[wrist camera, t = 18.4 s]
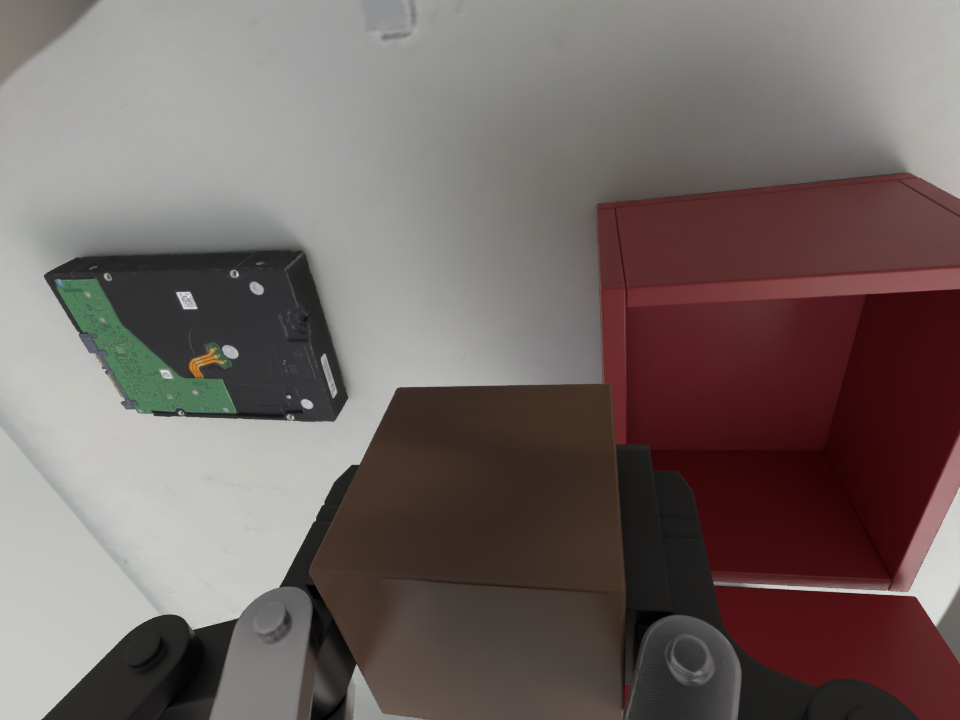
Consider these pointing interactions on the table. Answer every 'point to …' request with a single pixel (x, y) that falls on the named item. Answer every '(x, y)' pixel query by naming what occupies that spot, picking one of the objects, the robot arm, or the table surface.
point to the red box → (793, 369)
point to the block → (485, 556)
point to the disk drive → (207, 333)
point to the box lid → (847, 642)
